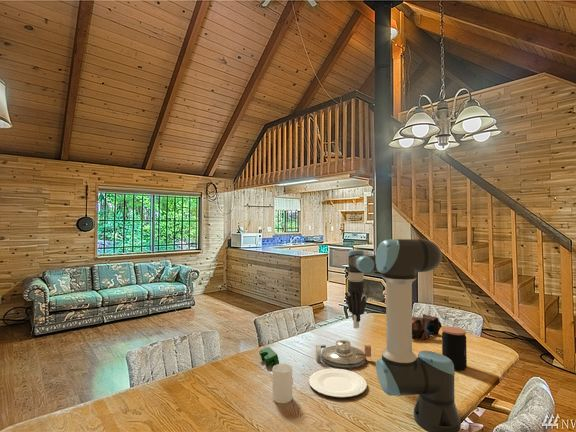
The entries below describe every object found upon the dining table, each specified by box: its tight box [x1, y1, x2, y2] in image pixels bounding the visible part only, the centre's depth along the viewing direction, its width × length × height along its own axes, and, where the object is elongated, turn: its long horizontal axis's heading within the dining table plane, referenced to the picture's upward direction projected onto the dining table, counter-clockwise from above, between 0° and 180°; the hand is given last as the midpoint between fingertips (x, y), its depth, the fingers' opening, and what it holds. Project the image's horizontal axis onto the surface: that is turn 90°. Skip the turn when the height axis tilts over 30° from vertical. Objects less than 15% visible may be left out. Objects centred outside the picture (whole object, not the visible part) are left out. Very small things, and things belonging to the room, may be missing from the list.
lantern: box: [412, 313, 443, 340], centre depth 200 cm, size 16×16×25 cm
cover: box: [334, 339, 353, 357], centre depth 166 cm, size 10×10×6 cm
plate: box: [308, 368, 368, 399], centre depth 139 cm, size 25×25×2 cm
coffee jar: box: [441, 325, 468, 372], centre depth 157 cm, size 11×11×18 cm
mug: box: [272, 363, 294, 404], centre depth 131 cm, size 8×12×12 cm
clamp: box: [258, 346, 280, 367], centre depth 162 cm, size 12×6×9 cm, turn 21°
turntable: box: [321, 344, 372, 365], centre depth 166 cm, size 25×22×6 cm
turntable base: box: [315, 344, 367, 370], centre depth 165 cm, size 25×23×8 cm
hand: (356, 327), depth 160 cm, fingers closed
